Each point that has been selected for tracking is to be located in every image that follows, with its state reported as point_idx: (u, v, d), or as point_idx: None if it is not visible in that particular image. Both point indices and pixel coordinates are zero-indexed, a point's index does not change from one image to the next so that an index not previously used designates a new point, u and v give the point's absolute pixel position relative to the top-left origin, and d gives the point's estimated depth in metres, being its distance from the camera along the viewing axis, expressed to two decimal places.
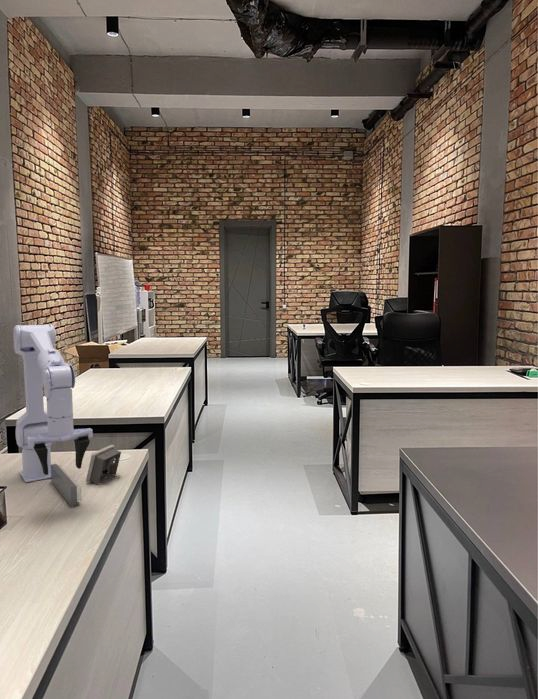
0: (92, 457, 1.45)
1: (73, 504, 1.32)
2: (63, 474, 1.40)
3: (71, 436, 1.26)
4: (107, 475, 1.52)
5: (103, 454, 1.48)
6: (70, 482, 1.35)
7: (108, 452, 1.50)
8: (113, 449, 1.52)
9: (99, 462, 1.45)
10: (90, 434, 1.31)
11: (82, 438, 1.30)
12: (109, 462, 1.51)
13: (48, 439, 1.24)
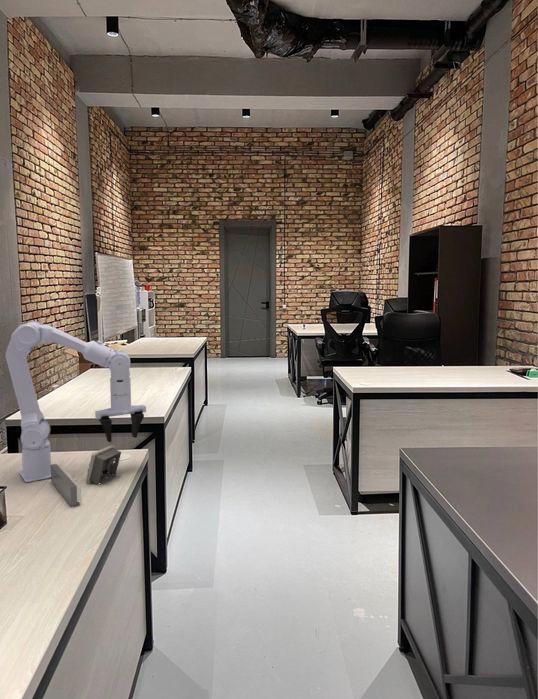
0: (92, 457, 1.45)
1: (73, 504, 1.32)
2: (63, 474, 1.40)
3: (130, 410, 1.54)
4: (107, 475, 1.52)
5: (103, 454, 1.48)
6: (70, 482, 1.35)
7: (108, 452, 1.50)
8: (113, 449, 1.52)
9: (99, 462, 1.45)
10: (144, 409, 1.59)
11: (138, 413, 1.58)
12: (109, 462, 1.51)
13: (112, 412, 1.52)
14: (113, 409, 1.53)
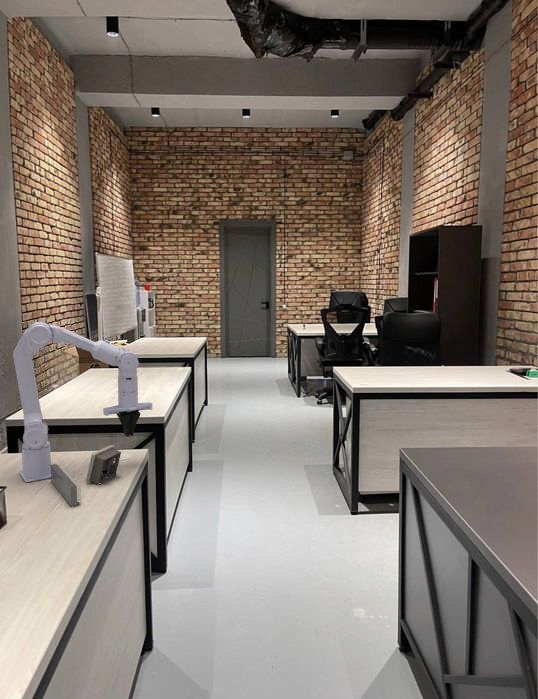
0: (92, 457, 1.45)
1: (73, 504, 1.32)
2: (63, 474, 1.40)
3: (137, 408, 1.59)
4: (107, 475, 1.52)
5: (103, 454, 1.48)
6: (70, 482, 1.35)
7: (108, 452, 1.50)
8: (113, 449, 1.52)
9: (99, 462, 1.45)
10: (150, 407, 1.63)
11: None
12: (109, 462, 1.51)
13: (119, 409, 1.56)
14: (121, 406, 1.57)
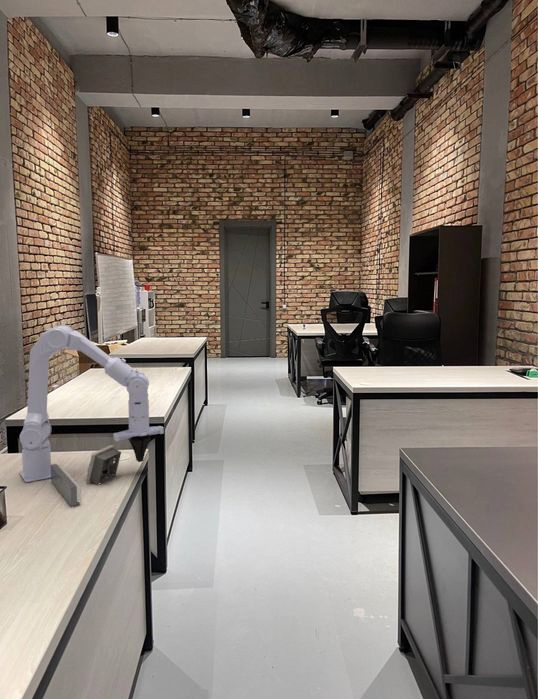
0: (92, 457, 1.45)
1: (73, 504, 1.32)
2: (63, 474, 1.40)
3: (148, 432, 1.54)
4: (107, 475, 1.52)
5: (103, 454, 1.48)
6: (70, 482, 1.35)
7: (108, 452, 1.50)
8: (113, 449, 1.52)
9: (99, 462, 1.45)
10: (161, 431, 1.58)
11: None
12: (109, 462, 1.51)
13: (130, 435, 1.52)
14: (131, 431, 1.53)
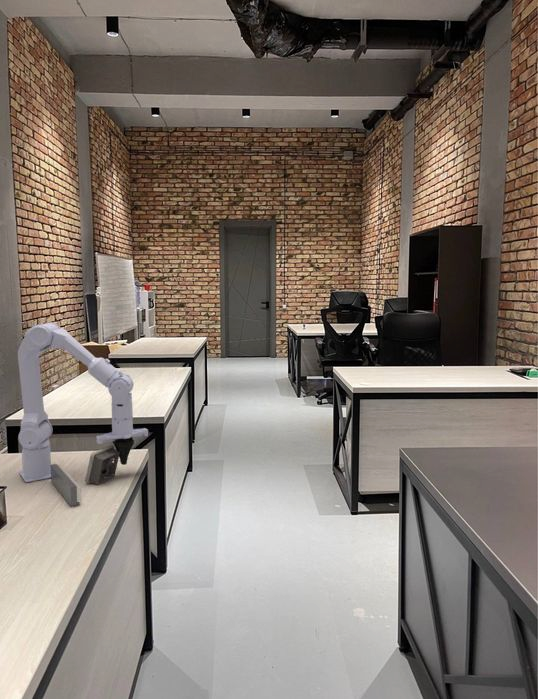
0: (91, 457, 1.45)
1: (73, 504, 1.32)
2: (63, 474, 1.40)
3: (132, 435, 1.51)
4: (106, 475, 1.52)
5: (102, 454, 1.47)
6: (70, 482, 1.35)
7: (107, 452, 1.49)
8: (112, 449, 1.52)
9: (98, 462, 1.45)
10: (146, 433, 1.56)
11: (139, 436, 1.55)
12: (108, 462, 1.50)
13: (113, 437, 1.49)
14: (115, 434, 1.50)
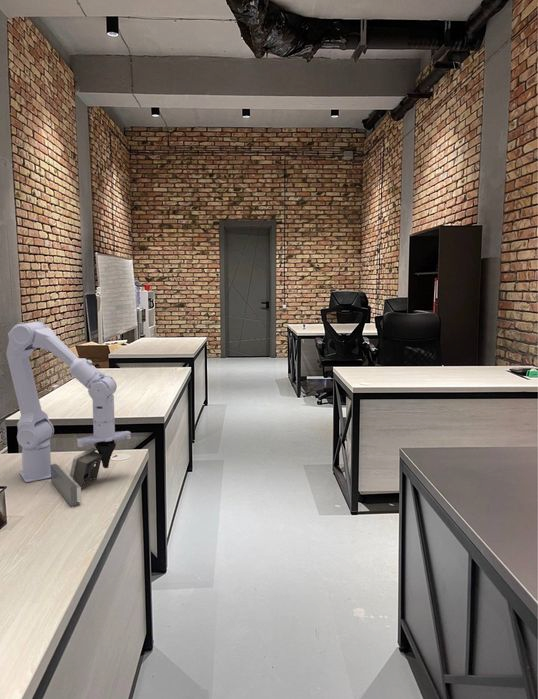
0: (74, 461, 1.41)
1: (73, 504, 1.32)
2: (63, 474, 1.40)
3: (113, 438, 1.48)
4: (88, 479, 1.49)
5: (85, 458, 1.44)
6: (70, 482, 1.35)
7: (89, 455, 1.46)
8: (94, 452, 1.49)
9: (81, 466, 1.42)
10: (128, 436, 1.52)
11: None
12: (90, 466, 1.47)
13: (94, 440, 1.46)
14: (96, 437, 1.47)
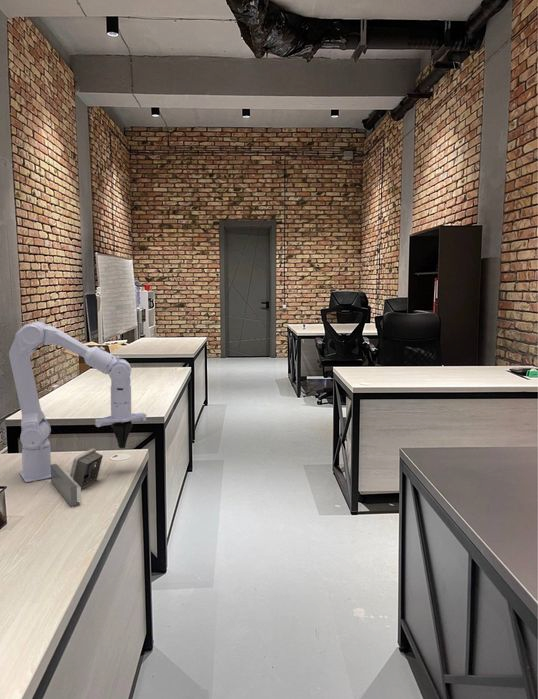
0: (74, 462, 1.41)
1: (73, 504, 1.32)
2: (63, 474, 1.40)
3: (130, 419, 1.54)
4: (88, 480, 1.49)
5: (85, 458, 1.44)
6: (70, 482, 1.35)
7: (90, 456, 1.46)
8: (94, 453, 1.49)
9: (82, 466, 1.42)
10: (144, 418, 1.58)
11: None
12: (91, 466, 1.47)
13: (112, 421, 1.51)
14: (113, 417, 1.53)
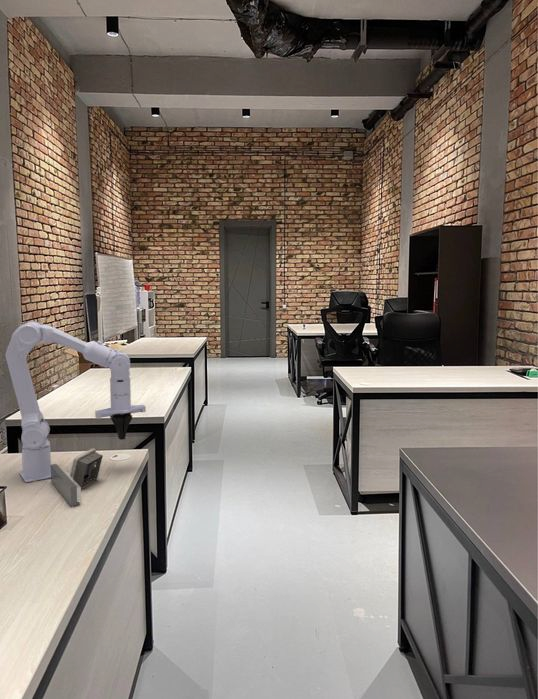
0: (74, 462, 1.41)
1: (73, 504, 1.32)
2: (63, 474, 1.40)
3: (129, 410, 1.55)
4: (88, 480, 1.49)
5: (85, 458, 1.44)
6: (70, 482, 1.35)
7: (90, 456, 1.46)
8: (94, 453, 1.49)
9: (82, 466, 1.42)
10: (143, 409, 1.60)
11: (137, 412, 1.59)
12: (91, 466, 1.47)
13: (112, 412, 1.53)
14: (113, 409, 1.54)
